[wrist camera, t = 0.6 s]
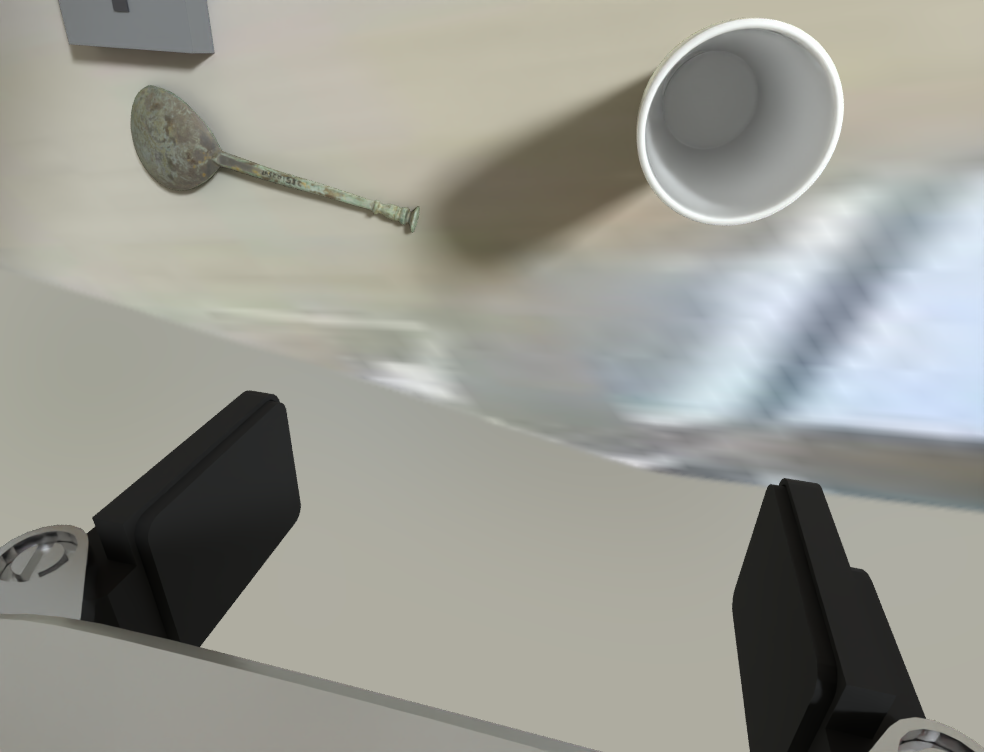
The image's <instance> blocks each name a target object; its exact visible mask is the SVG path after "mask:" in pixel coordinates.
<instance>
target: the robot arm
mask: <svg viewBox="0 0 984 752" xmlns="http://www.w3.org/2000/svg"><path fill="white" fill-rule="evenodd" d="M300 508H301V503H300V496H299V490H298V484H297V477H296V470H295V464H294V458H293V451H292V445H291V438H290V432H289V425H288V419H287V413H286V408H285V406H284V404H283V403H280V402H279V399H278V398H277V396H275V395H274V394H268V393H262V392H256V391H245V392H243V393H242V394H241V395H240V396H238V397H237V398H236V399H235V400H234V401H233V402H231V403H230V404H229V405H228V406H226V407H225V408H224V409H223V410H221V411H220V412H219V413H218V414H217V415H215V416H214V417H213V418H212V419H211V420H210V421H208V422H207V423H206V424H205V425H203V426H202V427H201V428H200V429H199V430H197V431H196V432H195V433H194V434H192V435H191V436H190V437H189V438H188V439H187V440H186V441H184V442H183V443H182V444H180V445H179V446H178V447H177V448H176V449H175V450H173V451H172V452H171V453H170V454H168V455H167V456H166V457H165V458H164V459H162V460H161V461H160V462H159V463H158V464H156V465H155V466H154V467H153V468H152V469H150V470H149V471H148V472H147V473H146V474H145V475H143V476H142V477H141V478H140V479H138V480H137V481H136V482H135V483H133V484H132V485H131V486H130V487H129V488H127V489H126V490H125V491H124V492H123V493H121V494H120V495H119V496H118V497H117V498H115V499H114V500H113V501H112V502H110V503H109V504H108V505H107V506H106V507H105V508H103V509H102V510H101V511H100V512H98V513H97V514H96V515H95V516H94V517H93V518H92V519H93V521H94V524H95V527H94V528H93V529H92V530H91V531H89V532H88V533H87V534H86V533H85V532H84V531H83V530H82V529H81V528H78V527H75V526H71V525H54V526H47V527H42V528H39V529H36V530H33V531H30V532H27V533H25V534H23V535H21V536H18V537H17V538H14V539H12V540H11V541H9V542H8V543H6V544H5V545H3V546H2V547H0V752H601V751H597V750H594V749H590V748H586V747H582V746H579V745H574V744H571V743H567V742H563V741H560V740H556V739H552V738H548V737H545V736H540V735H537V734H533V733H529V732H525V731H522V730H518V729H514V728H511V727H507V726H503V725H499V724H496V723H491V722H488V721H484V720H480V719H477V718H473V717H469V716H465V715H461V714H458V713H454V712H450V711H446V710H442V709H439V708H435V707H431V706H427V705H423V704H419V703H416V702H412V701H407V700H404V699H400V698H396V697H392V696H388V695H385V694H381V693H377V692H373V691H369V690H365V689H361V688H358V687H354V686H350V685H346V684H342V683H338V682H334V681H331V680H327V679H323V678H319V677H315V676H311V675H307V674H303V673H299V672H296V671H291V670H288V669H284V668H280V667H276V666H272V665H268V664H264V663H260V662H256V661H252V660H248V659H244V658H240V657H236V656H232V655H228V654H225V653H220V652H217V651H213V650H208V649H205V648H201V647H200V646H201V645H202V643H203V642H204V641H205V639H206V638H207V637H208V636H209V634H210V633H211V632H212V631H213V629H214V628H215V627H216V625H217V624H218V623H219V621H220V620H221V619H222V617H223V616H224V615H225V614H226V612H227V611H228V610H229V608H230V607H231V606H232V604H233V603H234V602H235V600H236V599H237V598H238V597H239V595H240V594H241V592H242V591H243V590H244V589H245V588H246V586H247V585H248V584H249V582H250V581H251V580H252V578H253V577H254V576H255V575H256V573H257V572H258V570H259V569H260V568H261V567H262V565H263V564H264V563H265V561H266V560H267V559H268V558H269V556H270V555H271V554H272V552H273V551H274V549H275V548H276V547H277V546H278V545H279V543H280V542H281V541H282V539H283V538H284V537H285V535H286V534H287V533H288V531H289V530H290V529H291V528H292V526H293V525H294V524H295V522H296V521H297V519H298V517H299V513H300ZM732 612H733V621H734V629H735V636H736V645H737V652H738V660H739V668H740V676H741V684H742V692H743V699H744V708H745V716H746V724H747V732H748V740H749V747H750V752H984V748H983V747H982V746H981V745H979V744H978V743H977V742H976V741H974V740H973V739H971V738H970V737H968V736H966V735H965V734H963V733H961V732H960V731H958V730H956V729H955V728H952V727H950V726H947V725H945V724H942V723H940V722H937V721H935V720H930V719H926V717H925V715H924V712H923V710H922V707H921V705H920V702H919V700H918V697H917V695H916V692H915V689H914V687H913V684H912V682H911V679H910V677H909V674H908V672H907V669H906V667H905V664H904V661H903V659H902V656H901V654H900V651H899V649H898V646H897V644H896V641H895V639H894V636H893V634H892V631H891V628H890V626H889V623H888V621H887V618H886V616H885V613H884V611H883V609H882V606H881V603H880V600H879V598H878V595H877V593H876V590H875V588H874V585H873V583H872V580H871V579H870V577H869V575H868V574H867V573H866V572H865V571H864V570H862V569H857V568H852V567H850V565H849V562H848V559H847V557H846V554H845V551H844V548H843V546H842V543H841V540H840V537H839V534H838V532H837V529H836V526H835V523H834V521H833V518H832V515H831V512H830V510H829V507H828V504H827V502H826V499H825V496H824V493H823V490H822V488H821V486H820V485H819V484H817V483H811V482H805V481H799V480H793V479H787V478H784V479H782V480H781V482H780V483H779V486H778V485H772V484H770V485H769V486H768V487H767V490H766V493H765V496H764V499H763V502H762V505H761V508H760V512H759V515H758V518H757V521H756V524H755V527H754V531H753V534H752V537H751V540H750V543H749V546H748V550H747V553H746V556H745V559H744V562H743V565H742V568H741V571H740V575H739V578H738V581H737V584H736V587H735V590H734V595H733V603H732Z"/></svg>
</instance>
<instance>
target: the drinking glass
mask: <svg viewBox="0 0 984 752" xmlns="http://www.w3.org/2000/svg"><path fill="white" fill-rule="evenodd" d="M843 110H844V102H843V91H842V85H841V82H840V78H839V75H838V72H837V70H836V67H835V65H834V63H833V62H832V60H831V58H830V56H829V55H828V54H827V52H826V51H825V49H824V48H823V47H822V46H821V45H820V44H819V43H818V42H817V41H816V40H815V39H814V38H813V37H811V36H810V35H809V34H807V33H806V32H804V31H803V30H801V29H799V28H797V27H795V26H793V25H791V24H788V23H785V22H782V21H778V20H773V19H765V18H738V19H730V20H726V21H722V22H719V23H716V24H713V25H710V26H708V27H705V28H703V29H701V30H699V31H697V32H695V33H694V34H692V35H690V36H689V37H687V38H686V39H684V40H683V41H682V42H681V43H679V44H678V45H677V46H676V47H675V48H674V49H672V50H671V51H670V52H669V53H668V54H667V56H666V57H665V58H664V59H663V60H662V61H661V63H660V64H659V65H658V67H657V68H656V70H655V71H654V73H653V74H652V76H651V78H650V80H649V82H648V84H647V86H646V88H645V90H644V93H643V96H642V99H641V102H640V106H639V110H638V115H637V124H636V141H637V151H638V157H639V161H640V165H641V168H642V171H643V173H644V176H645V178H646V180H647V182H648V184H649V185H650V187H651V188H652V190H653V191H654V193H655V194H656V195H657V196H658V197H659V199H660V200H661V201H663V202H664V203H665V204H666V205H667V206H668V207H669V208H671V209H672V210H673V211H675V212H677V213H678V214H680V215H682V216H684V217H686V218H688V219H691V220H694V221H696V222H700V223H704V224H710V225H721V226H728V225H739V224H745V223H750V222H753V221H757V220H760V219H763V218H765V217H768V216H770V215H772V214H774V213H776V212H778V211H780V210H782V209H783V208H785V207H786V206H788V205H789V204H791V203H792V202H793V201H795V200H796V199H797V198H799V197H800V196H801V195H802V194H803V193H804V192H805V191H806V190H807V189H808V188H809V187H810V186H811V185H812V184H813V183H814V182H815V181H816V179H817V178H818V177H819V176H820V174H821V173H822V171H823V170H824V168H825V167H826V165H827V163H828V162H829V160H830V158H831V156H832V154H833V152H834V149H835V147H836V144H837V142H838V139H839V135H840V131H841V127H842V121H843Z"/></svg>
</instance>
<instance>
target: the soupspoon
mask: <svg viewBox="0 0 984 752" xmlns="http://www.w3.org/2000/svg"><path fill="white" fill-rule="evenodd" d="M131 132H132V138H133V142H134V145H135V148H136V151H137V153H138V156H139V158H140V160H141V162H142V163H143V165H144V167H145V168H146V170H147V171H148V172H149V173H150V175H151V176H152V177H153V178H154V179H155V180H156V181H157V182H159V183H160V184H162V185H164V186H165V187H168V188H170V189H174V190H188V189H192V188H195V187H197V186H199V185H201V184H202V183H204V182H206V181H207V180H208V179H209V178H211V177H212V176H213V175H214V174H215V172H216V171H217V170H218V169H219V168H220V167H225V168H228V169H231V170H234V171H238V172H241V173H244V174H247V175H251V176H254V177H257V178H260V179H264V180H267V181H270V182H274V183H277V184H281V185H283V186H288V187H292V188H295V189H298V190H303V191H306V192H310V193H313V194H317V195H321V196H325V197H328V198H331V199H335V200H338V201H341V202H344V203H348V204H351V205H354V206H358V207H362V208H366V209H369V210H371V211H372V212H373V214H375V215H376V214H378V213H380V214H382V215H384V216H385V217H386V218H388V219H391V220H394V221H399V222H400V223H401V224H403V225H405V224H407V223H409V224H410V228H411V232H412V233H413V232H414V230H415V227H416V225H417V220H418V217H419V211H420V208H419V206H418V207H417V208H416V209H415V210H414V211H412V212H410V210H409V208H400V207H398V206H395V205H392V204H386V205H383V204H381V203H380V201H379V200H375V201H372V200H369V199H366V198H363V197H360V196H357V195H354V194H351V193H348V192H345V191H342V190H339V189H336V188H332V187H329V186H326V185H323V184H320V183H316V182H313V181H310V180H307V179H303V178H300V177H297V176H293V175H290V174H286V173H283V172H280V171H277V170H274V169H271V168H268V167H265V166H262V165H259V164H257V163H254V162H251V161H248V160H245V159H243V158H240V157H237V156H234V155H231V154H228V153H226V152H223V151H222V150H221V148H220V146H219V144H218V142H217V141H216V139H215V137H214V135H213V134H212V132H211V131H210V129H209V128H208V127H207V125H206V124H205V123H204V121H203V120H202V119H201V118H200V117H199V116H198V115H197V114H196V113H195V112H194V111H193V110H192V109H191V108H190V107H189V106H188V105H187V104H186V103H185V102H184V101H183V100H182V99H180V98H179V97H177V96H176V95H175V94H173V93H172V92H169V91H167V90H165V89H162V88H159V87H156V86H152V85H150V86H147V87H145V88H143V89H142V90H141V91H140V92H138V94H137V95H136V97H135V100H134V102H133V106H132V111H131Z"/></svg>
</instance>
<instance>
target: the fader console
mask: <svg viewBox="0 0 984 752" xmlns="http://www.w3.org/2000/svg"><path fill="white" fill-rule="evenodd" d="M58 1H59V5H60V9H61V13H62V17H63V21H64V25H65V29H66V33H67V37H68V41H69V44H73V45H87V46H100V47H114V48H128V49H141V50H155V51H169V52H182V53H214V47H213V41H212V34H211V27H210V20H209V13H208V7H207V0H58Z"/></svg>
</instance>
